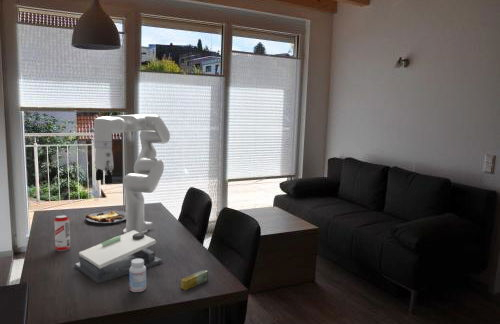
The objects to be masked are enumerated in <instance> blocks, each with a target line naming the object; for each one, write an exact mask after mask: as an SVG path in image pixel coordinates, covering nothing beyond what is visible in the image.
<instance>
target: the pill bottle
mask: <svg viewBox="0 0 500 324" xmlns="http://www.w3.org/2000/svg"><path fill="white" fill-rule="evenodd" d="M131 265H132V266H131V267H130V269H129V274H128V275H129V290H130V291H131V292H133V293H140V292H144V291H145V290H146V289H147V268H146V267H145V266H144V260H143V259H140V258H137V259H133V260H132V261H131Z"/></svg>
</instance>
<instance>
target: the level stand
mask: <svg viewBox="0 0 500 324" xmlns="http://www.w3.org/2000/svg"><path fill="white" fill-rule="evenodd" d="M155 253H156V252H155V251H153V250H151V249H149V248H148V247H147V248H145V249H142V250H140V251H138V252H136V253H133V254H131V255H129V256H127V257H125V258H122V259H120V260H118V261H116V262H114V263H111V264H109V265H107V266H105V267H103V268H98V267H96V266H95V265H93V264H92V263H90V262H89V261H87V260H86V259H84V258H82V257H81V256H80V257H79V262H76V263H74V268H76V269H77V270H78V271H80V272H82V273H83V274H84V275H86V276H87V277H89V278H90V279H91V280H93V281H94V282H96V283H97V284H101V283H103V282H107V281H110V280H113V279H116V278H119V277H123V276H125V275H129V269H130V267H131V266H132V265H131V261H132V260H133V259H137V258H140V259H143V260H144V266H145V267H146V269H148V268H151V267H153V266H156V265H160V264H162V263H163V259H161V258H160V257H157V256H156V254H155ZM150 266H151V267H150Z"/></svg>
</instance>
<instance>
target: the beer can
mask: <svg viewBox="0 0 500 324" xmlns="http://www.w3.org/2000/svg"><path fill="white" fill-rule="evenodd" d="M53 221H54V224H53V225H54V242H55V246H54V247H55V250H56V251H58V252H65V251H68V250H69V249H70V248H71V232H70V231H71V230H70V229H71V228H70V218H69V216H68V214H59V215H56V216H55V218H54V220H53Z"/></svg>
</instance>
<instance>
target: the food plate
mask: <svg viewBox="0 0 500 324" xmlns="http://www.w3.org/2000/svg"><path fill="white" fill-rule="evenodd" d="M85 220H86V221H87V222H90V223H95V224H117V223H120V222H123V221H126V211H124V210H122V211H121V210H103V211H102V210H101V211H97V212H93V213H91V214H87V215H86V216H85Z"/></svg>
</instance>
